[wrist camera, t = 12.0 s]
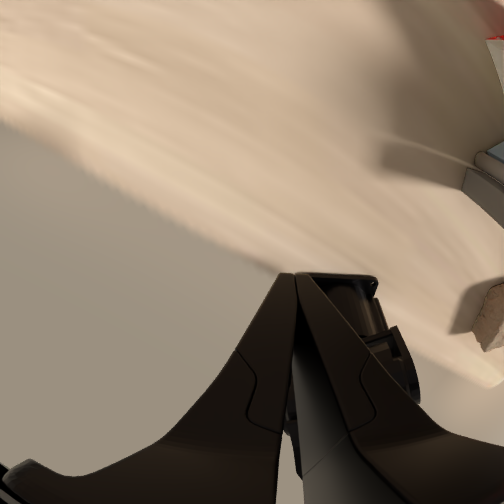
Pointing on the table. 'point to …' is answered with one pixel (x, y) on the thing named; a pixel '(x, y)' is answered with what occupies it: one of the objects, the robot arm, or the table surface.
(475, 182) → the door frame
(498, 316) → the brick
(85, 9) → the table surface
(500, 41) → the red white patterned box
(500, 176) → the door
